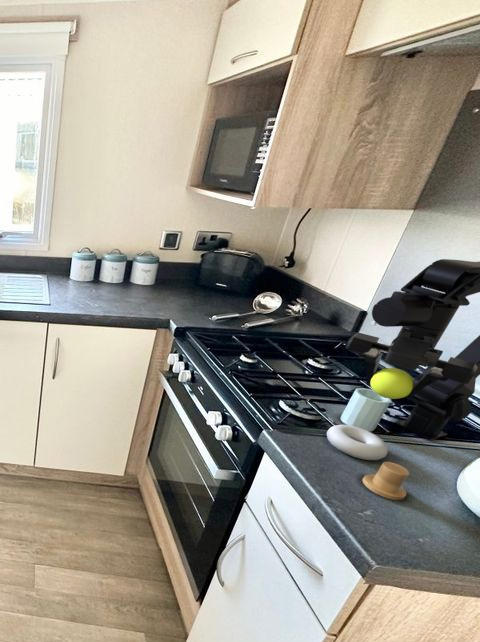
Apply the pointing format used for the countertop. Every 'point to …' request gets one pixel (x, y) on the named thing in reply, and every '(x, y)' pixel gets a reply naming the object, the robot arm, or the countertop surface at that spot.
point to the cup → (365, 409)
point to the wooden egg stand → (387, 481)
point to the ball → (392, 383)
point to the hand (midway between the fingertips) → (387, 391)
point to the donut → (357, 442)
